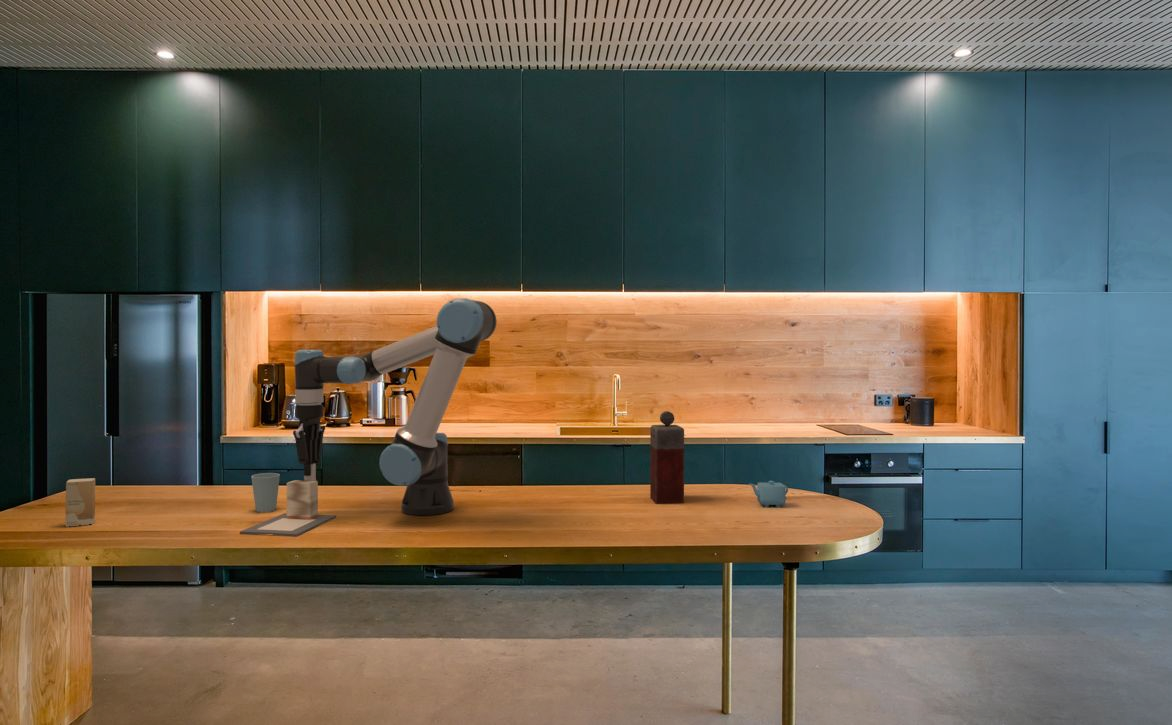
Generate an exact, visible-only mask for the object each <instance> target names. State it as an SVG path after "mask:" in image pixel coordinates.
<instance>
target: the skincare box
mask: <svg viewBox="0 0 1172 725" xmlns="http://www.w3.org/2000/svg"><path fill="white" fill-rule="evenodd" d="M95 522H96V478H95V477H93V478H74V479H73V478H72V479H68V480H67V481H66V483H65V527H67V528H69V526H70V527H79V525H81V526H90V525H89V524H92V525H93V524H94V523H95Z"/></svg>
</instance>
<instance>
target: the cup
mask: <svg viewBox="0 0 1172 725" xmlns="http://www.w3.org/2000/svg"><path fill="white" fill-rule="evenodd" d="M280 477H281V474H280V473H276V472H265V473H264V472H263V473H262V472H261V473H257V474H256V473H255V474H253V475H251V483H252V484H251V486H252V491H253V499H254V507H255V511H256V512H257V513H270V511H271V512H274V511H276V510H277V504H278V497H279V496H278V495H279V494H278V493H279V485H280V479H281V478H280Z"/></svg>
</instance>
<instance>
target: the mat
mask: <svg viewBox="0 0 1172 725" xmlns="http://www.w3.org/2000/svg"><path fill="white" fill-rule="evenodd" d="M334 519H337V515H333V514H329V515H328V514H318V517H316V518H313V519H311V520H304V519H287V512H285V513H282V514H279V515H277V516H275V517H272V518H269V519H267V520H265V521H262V522H260V523H259V522H258V524H254V525H253V526H249V527H248V528H245V529H242V530H240V531H239V534H240V535H256V534H273V535H272V536H278V535H284V536H285V537H299V536H301V535H304V533H307V532H309V531H311V530H313V529H316V528H318V527H319V525H320V526H322V525H323V524H327V523H328V522H331V521H332V520H334ZM321 524H322V525H321ZM317 526H318V527H317ZM315 527H316V528H315ZM284 536H283V537H284Z"/></svg>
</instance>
